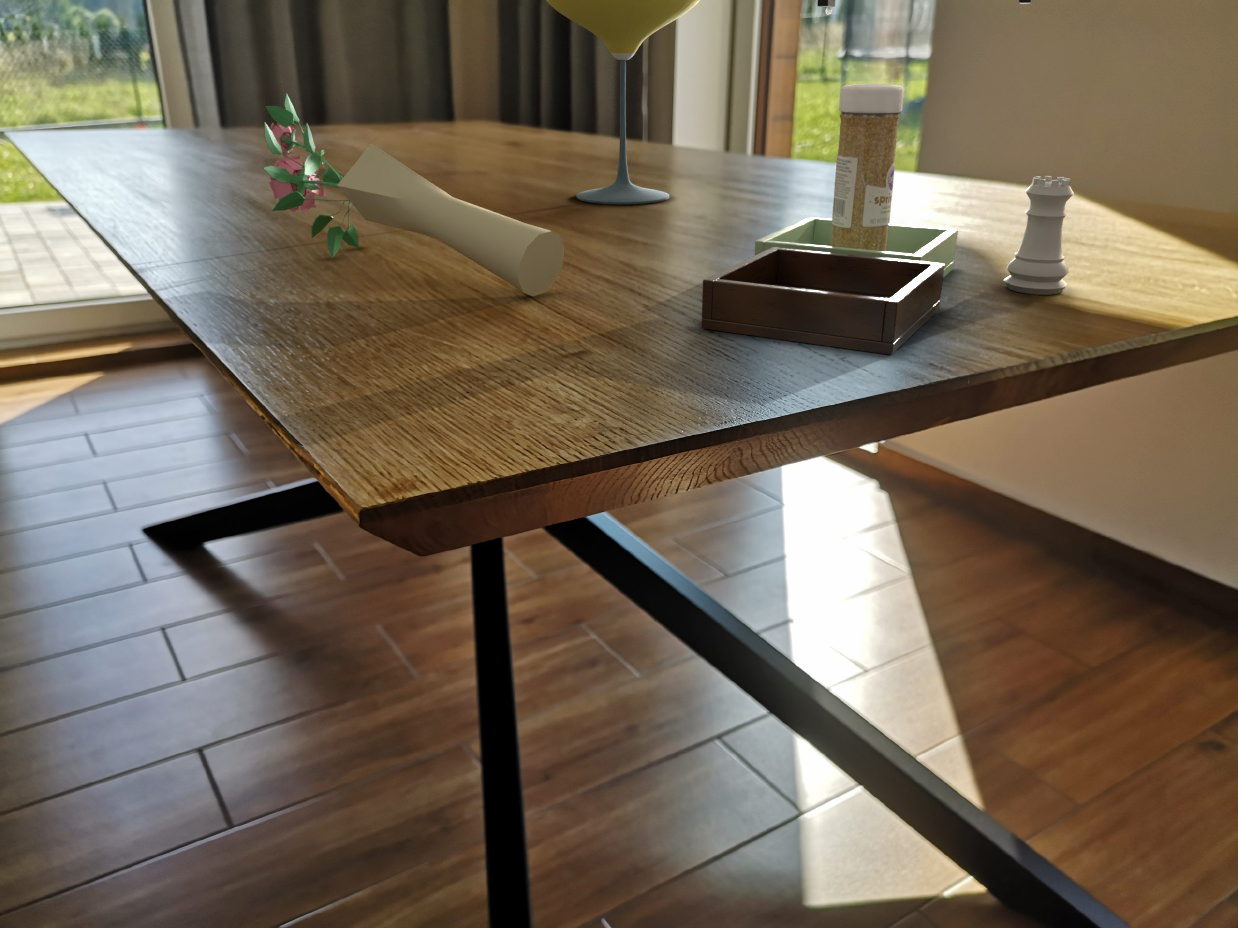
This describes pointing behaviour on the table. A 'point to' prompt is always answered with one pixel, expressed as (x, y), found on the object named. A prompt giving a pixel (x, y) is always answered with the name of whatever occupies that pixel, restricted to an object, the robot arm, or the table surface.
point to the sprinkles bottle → (865, 165)
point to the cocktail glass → (622, 69)
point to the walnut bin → (824, 298)
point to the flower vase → (409, 208)
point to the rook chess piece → (1042, 240)
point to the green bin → (900, 245)
